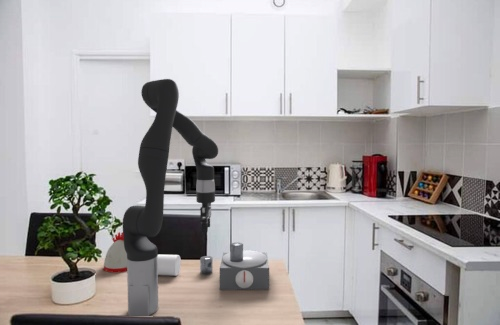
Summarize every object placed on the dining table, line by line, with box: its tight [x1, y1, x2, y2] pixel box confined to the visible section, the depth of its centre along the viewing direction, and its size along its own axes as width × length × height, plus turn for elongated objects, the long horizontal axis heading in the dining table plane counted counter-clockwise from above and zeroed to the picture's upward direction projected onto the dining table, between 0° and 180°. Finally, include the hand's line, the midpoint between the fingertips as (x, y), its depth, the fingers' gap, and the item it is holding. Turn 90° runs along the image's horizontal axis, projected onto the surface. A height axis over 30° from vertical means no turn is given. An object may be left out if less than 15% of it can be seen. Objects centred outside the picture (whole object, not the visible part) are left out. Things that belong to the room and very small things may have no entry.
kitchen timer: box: [103, 231, 127, 273], centre depth 142 cm, size 14×14×15 cm
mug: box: [158, 254, 182, 277], centre depth 135 cm, size 12×10×8 cm
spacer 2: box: [229, 241, 244, 262], centre depth 123 cm, size 5×5×6 cm
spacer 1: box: [199, 255, 214, 276], centre depth 135 cm, size 5×5×6 cm
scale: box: [219, 249, 270, 291], centre depth 126 cm, size 18×18×9 cm
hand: (206, 229), depth 134 cm, fingers open, 8 cm apart
